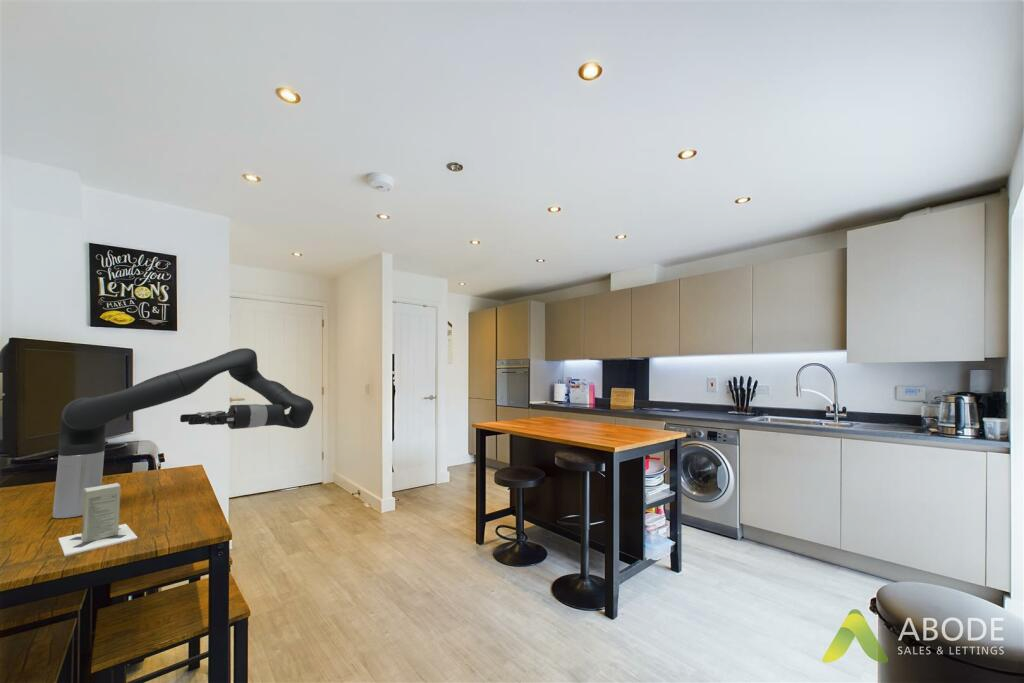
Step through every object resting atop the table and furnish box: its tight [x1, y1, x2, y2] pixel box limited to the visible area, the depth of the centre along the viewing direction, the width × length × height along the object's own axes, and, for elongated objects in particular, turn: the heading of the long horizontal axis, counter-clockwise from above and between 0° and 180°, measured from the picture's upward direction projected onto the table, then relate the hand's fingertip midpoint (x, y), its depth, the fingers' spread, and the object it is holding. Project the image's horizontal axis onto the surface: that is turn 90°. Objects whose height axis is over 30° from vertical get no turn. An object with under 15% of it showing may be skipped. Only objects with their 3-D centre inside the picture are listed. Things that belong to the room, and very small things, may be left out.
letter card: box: [58, 523, 138, 557], centre depth 98 cm, size 14×12×1 cm
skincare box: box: [80, 482, 122, 543], centre depth 98 cm, size 6×4×12 cm
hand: (184, 419), depth 115 cm, fingers open, 8 cm apart
